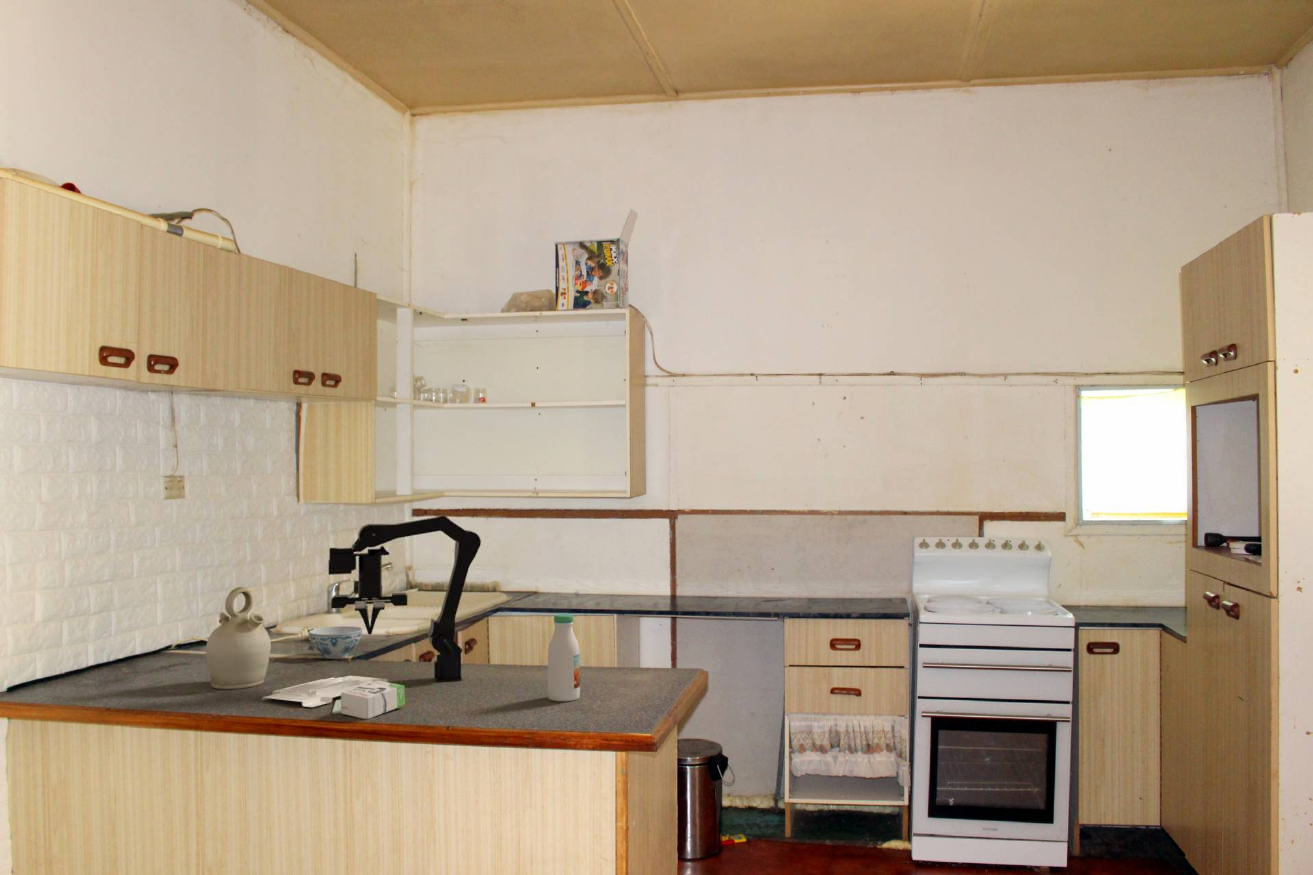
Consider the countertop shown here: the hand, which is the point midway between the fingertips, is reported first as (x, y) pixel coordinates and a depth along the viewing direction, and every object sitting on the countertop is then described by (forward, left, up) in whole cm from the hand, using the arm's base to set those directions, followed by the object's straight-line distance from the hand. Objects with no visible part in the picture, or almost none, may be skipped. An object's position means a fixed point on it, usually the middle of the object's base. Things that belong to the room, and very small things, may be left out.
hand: (369, 633), depth 254 cm
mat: (+1, +23, -13) cm, 26 cm away
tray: (+10, +6, -13) cm, 17 cm away
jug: (+33, -10, -13) cm, 37 cm away
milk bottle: (-46, +28, -13) cm, 55 cm away
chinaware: (+11, -43, -13) cm, 47 cm away
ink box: (-6, +25, -10) cm, 28 cm away
